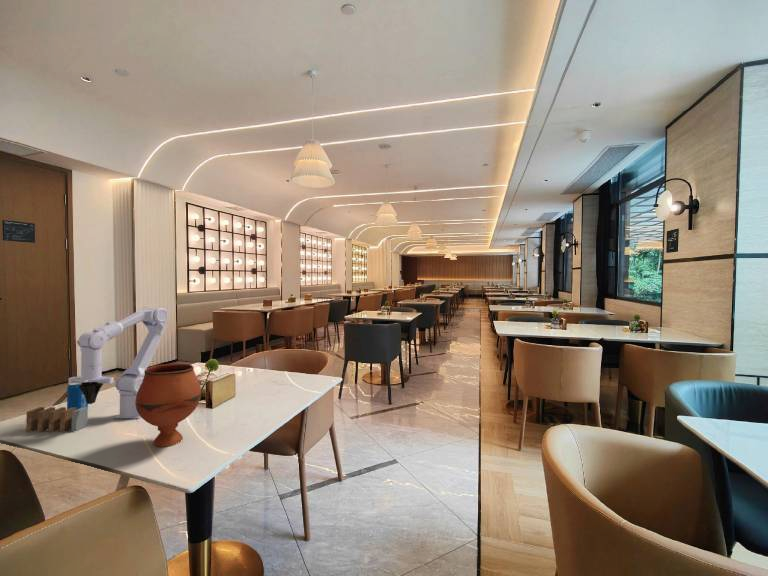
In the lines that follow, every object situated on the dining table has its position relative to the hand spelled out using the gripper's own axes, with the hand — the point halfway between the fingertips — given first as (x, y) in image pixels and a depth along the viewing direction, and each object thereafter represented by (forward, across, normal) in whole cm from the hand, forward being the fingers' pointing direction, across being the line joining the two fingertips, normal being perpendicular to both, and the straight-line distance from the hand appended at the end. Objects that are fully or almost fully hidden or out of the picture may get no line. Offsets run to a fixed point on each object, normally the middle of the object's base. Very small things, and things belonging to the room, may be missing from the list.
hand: (91, 403), depth 129 cm
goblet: (+10, +33, -10) cm, 36 cm away
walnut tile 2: (+9, -8, 0) cm, 12 cm away
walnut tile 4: (+9, -15, 0) cm, 18 cm away
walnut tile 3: (+9, -12, 0) cm, 15 cm away
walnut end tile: (+9, -19, 0) cm, 21 cm away
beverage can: (+10, -18, +17) cm, 27 cm away
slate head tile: (+9, -4, 0) cm, 10 cm away
